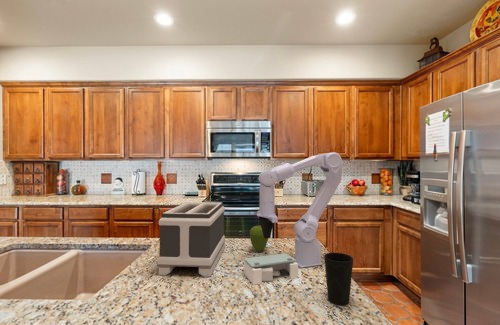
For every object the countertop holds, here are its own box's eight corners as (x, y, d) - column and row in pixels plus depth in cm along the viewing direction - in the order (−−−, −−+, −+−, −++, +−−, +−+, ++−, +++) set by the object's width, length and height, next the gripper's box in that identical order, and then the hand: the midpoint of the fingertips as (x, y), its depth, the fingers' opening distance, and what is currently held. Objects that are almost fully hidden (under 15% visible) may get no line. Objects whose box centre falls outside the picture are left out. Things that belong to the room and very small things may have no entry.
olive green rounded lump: (258, 246, 120) (258, 221, 120) (272, 250, 114) (273, 224, 114) (245, 251, 113) (245, 224, 113) (259, 255, 108) (259, 227, 108)
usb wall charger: (258, 276, 87) (258, 264, 87) (279, 276, 88) (279, 264, 88) (259, 282, 83) (259, 269, 83) (280, 281, 84) (280, 269, 84)
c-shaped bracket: (285, 267, 95) (285, 255, 95) (298, 277, 87) (298, 263, 87) (244, 273, 90) (244, 260, 90) (253, 285, 81) (253, 270, 81)
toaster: (226, 246, 120) (226, 200, 121) (210, 278, 86) (211, 214, 87) (187, 245, 122) (187, 200, 122) (156, 276, 87) (157, 214, 88)
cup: (350, 310, 67) (350, 264, 67) (320, 302, 71) (320, 258, 71) (355, 298, 73) (355, 255, 74) (328, 291, 77) (328, 250, 78)
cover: (285, 254, 95) (285, 252, 95) (295, 261, 88) (295, 258, 88) (244, 259, 90) (244, 257, 90) (251, 267, 83) (251, 264, 83)
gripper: (250, 200, 104) (250, 234, 104) (265, 205, 91) (264, 244, 90) (266, 199, 107) (266, 232, 106) (283, 204, 93) (282, 242, 93)
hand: (266, 237), depth 99 cm, fingers closed
